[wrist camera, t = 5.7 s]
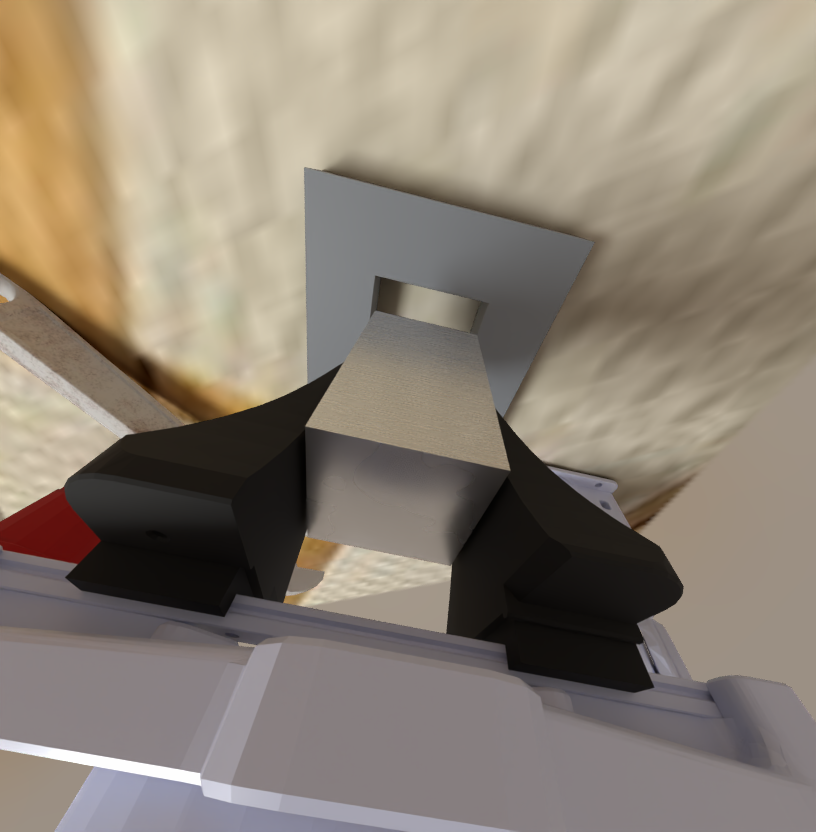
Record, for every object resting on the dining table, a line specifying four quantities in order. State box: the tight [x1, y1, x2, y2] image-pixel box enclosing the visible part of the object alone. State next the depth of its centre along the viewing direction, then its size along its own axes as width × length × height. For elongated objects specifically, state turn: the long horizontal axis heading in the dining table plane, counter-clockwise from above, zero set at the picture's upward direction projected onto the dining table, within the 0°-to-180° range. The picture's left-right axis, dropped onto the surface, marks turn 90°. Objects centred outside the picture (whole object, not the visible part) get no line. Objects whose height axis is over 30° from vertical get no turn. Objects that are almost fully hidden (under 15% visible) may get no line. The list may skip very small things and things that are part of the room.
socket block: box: [304, 167, 595, 417], centre depth 16 cm, size 12×12×2 cm
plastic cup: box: [0, 487, 101, 564], centre depth 25 cm, size 11×11×12 cm
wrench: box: [0, 273, 324, 596], centre depth 21 cm, size 8×2×30 cm
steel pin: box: [305, 311, 510, 566], centre depth 9 cm, size 4×4×7 cm
